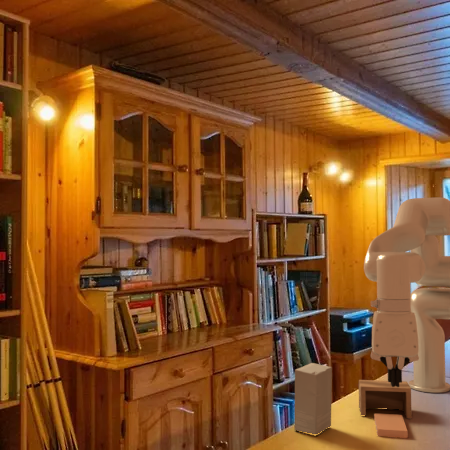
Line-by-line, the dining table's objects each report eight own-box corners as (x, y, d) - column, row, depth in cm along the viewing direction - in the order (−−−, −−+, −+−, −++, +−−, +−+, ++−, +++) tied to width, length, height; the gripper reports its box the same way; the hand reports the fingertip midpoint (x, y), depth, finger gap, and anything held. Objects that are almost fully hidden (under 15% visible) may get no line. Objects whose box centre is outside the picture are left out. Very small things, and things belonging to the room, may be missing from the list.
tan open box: (359, 407, 156) (358, 378, 156) (406, 409, 154) (406, 380, 154) (361, 416, 148) (360, 386, 148) (411, 418, 146) (411, 388, 146)
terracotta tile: (374, 421, 145) (374, 413, 145) (401, 423, 144) (401, 414, 144) (377, 438, 133) (377, 429, 133) (407, 440, 132) (407, 430, 132)
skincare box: (309, 422, 143) (309, 361, 144) (334, 428, 139) (333, 365, 139) (292, 432, 137) (291, 368, 137) (317, 438, 132) (316, 372, 133)
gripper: (362, 307, 126) (363, 388, 125) (430, 308, 123) (431, 391, 123) (359, 303, 133) (360, 380, 133) (424, 305, 131) (425, 382, 130)
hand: (394, 385), depth 128 cm, fingers closed
